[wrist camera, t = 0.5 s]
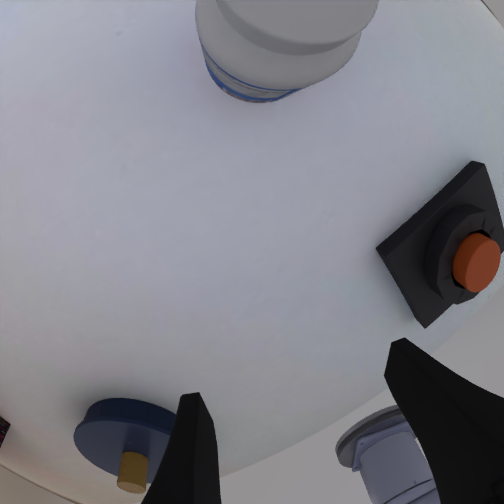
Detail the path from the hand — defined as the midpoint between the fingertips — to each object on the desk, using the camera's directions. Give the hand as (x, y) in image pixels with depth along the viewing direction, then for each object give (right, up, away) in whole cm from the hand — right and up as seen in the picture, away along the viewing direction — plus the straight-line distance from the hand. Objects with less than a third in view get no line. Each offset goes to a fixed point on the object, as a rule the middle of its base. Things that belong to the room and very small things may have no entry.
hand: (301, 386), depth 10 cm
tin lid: (-12, -12, +11) cm, 20 cm away
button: (+13, +4, +6) cm, 15 cm away
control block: (+12, +5, +9) cm, 16 cm away
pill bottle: (-2, +15, +3) cm, 15 cm away
